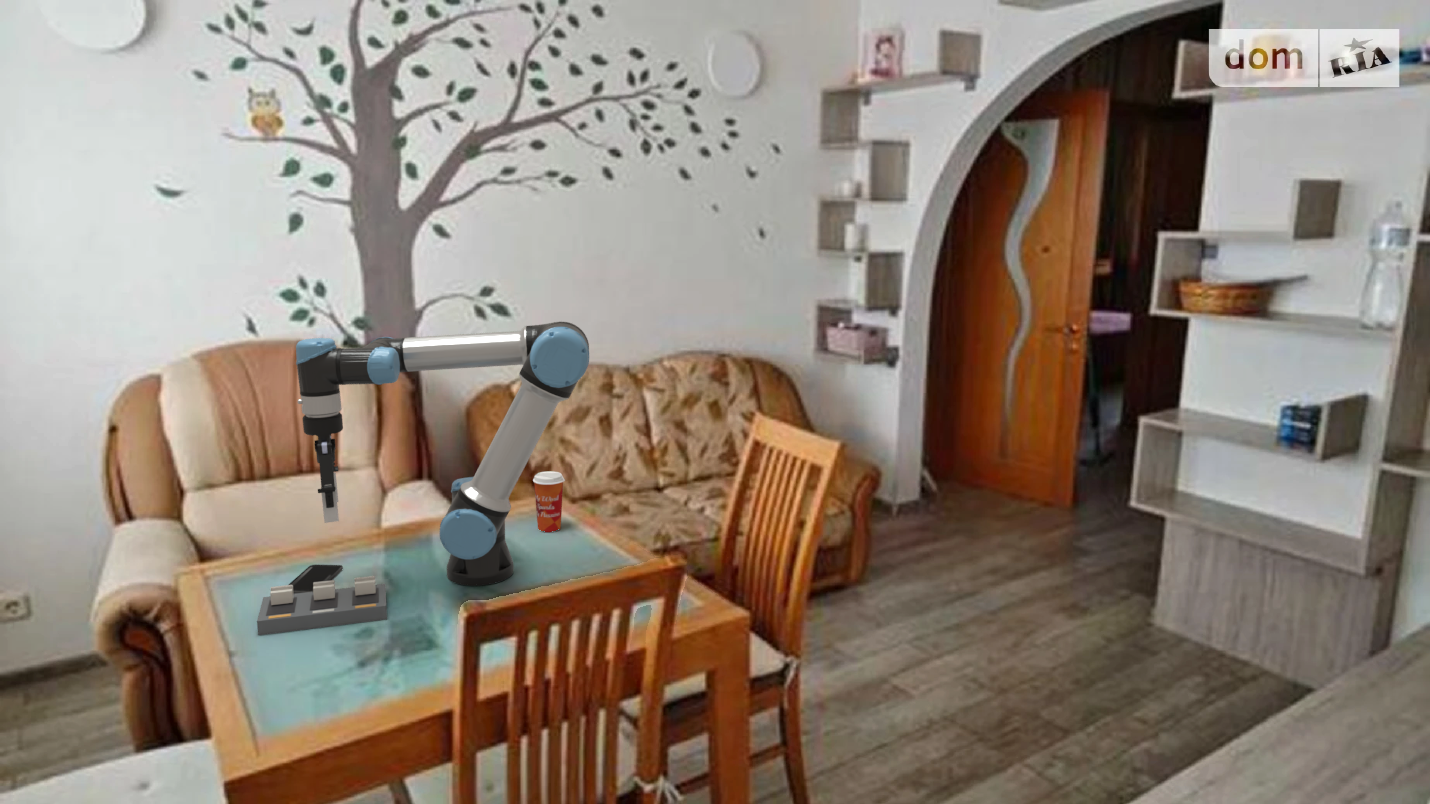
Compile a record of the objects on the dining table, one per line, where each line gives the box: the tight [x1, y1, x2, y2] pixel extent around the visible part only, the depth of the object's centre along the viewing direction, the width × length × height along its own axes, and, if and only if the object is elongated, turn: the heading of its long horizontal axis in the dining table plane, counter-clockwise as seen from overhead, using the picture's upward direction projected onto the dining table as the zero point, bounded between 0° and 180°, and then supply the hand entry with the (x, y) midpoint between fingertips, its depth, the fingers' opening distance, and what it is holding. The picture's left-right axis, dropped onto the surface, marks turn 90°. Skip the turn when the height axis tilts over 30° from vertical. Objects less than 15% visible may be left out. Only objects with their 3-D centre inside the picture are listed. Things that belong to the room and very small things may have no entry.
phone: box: [288, 564, 344, 594], centre depth 206 cm, size 8×1×15 cm
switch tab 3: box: [354, 575, 376, 596], centre depth 193 cm, size 4×3×3 cm
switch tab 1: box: [269, 584, 294, 605], centre depth 187 cm, size 4×3×3 cm
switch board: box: [256, 583, 388, 636], centre depth 189 cm, size 24×12×3 cm, turn 111°
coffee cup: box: [532, 470, 566, 533], centre depth 242 cm, size 8×8×15 cm
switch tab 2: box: [313, 579, 336, 600], centre depth 190 cm, size 4×3×3 cm
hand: (331, 511), depth 192 cm, fingers open, 13 cm apart
